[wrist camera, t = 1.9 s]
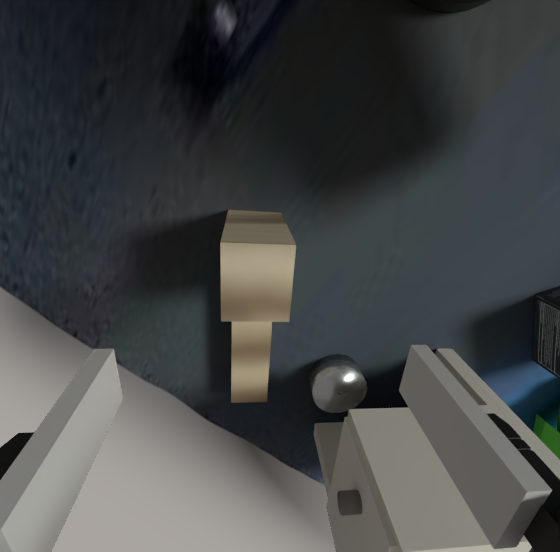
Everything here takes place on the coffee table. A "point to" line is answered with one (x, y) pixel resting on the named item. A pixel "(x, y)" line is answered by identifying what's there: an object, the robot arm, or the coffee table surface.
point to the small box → (547, 331)
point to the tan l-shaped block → (254, 294)
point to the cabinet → (406, 478)
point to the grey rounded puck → (337, 383)
